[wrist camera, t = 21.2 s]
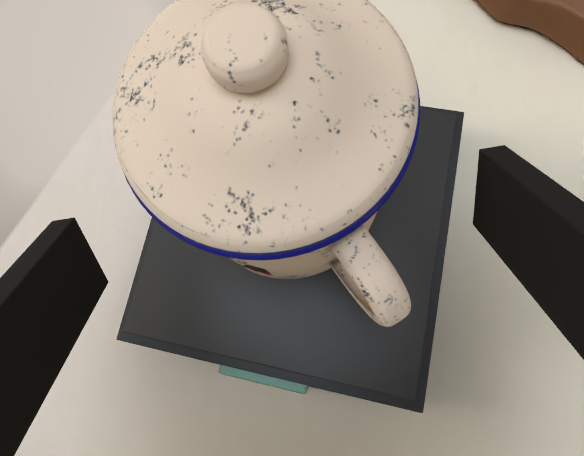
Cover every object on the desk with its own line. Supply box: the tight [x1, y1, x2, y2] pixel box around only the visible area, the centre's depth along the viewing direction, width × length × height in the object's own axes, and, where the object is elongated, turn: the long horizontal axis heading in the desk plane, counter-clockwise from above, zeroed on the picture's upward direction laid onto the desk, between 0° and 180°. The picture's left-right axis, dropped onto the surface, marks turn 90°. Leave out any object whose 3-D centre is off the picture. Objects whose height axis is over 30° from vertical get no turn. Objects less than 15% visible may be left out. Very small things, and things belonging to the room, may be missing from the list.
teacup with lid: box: [113, 0, 420, 327], centre depth 14 cm, size 12×9×12 cm
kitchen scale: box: [117, 106, 464, 413], centre depth 21 cm, size 15×16×3 cm
